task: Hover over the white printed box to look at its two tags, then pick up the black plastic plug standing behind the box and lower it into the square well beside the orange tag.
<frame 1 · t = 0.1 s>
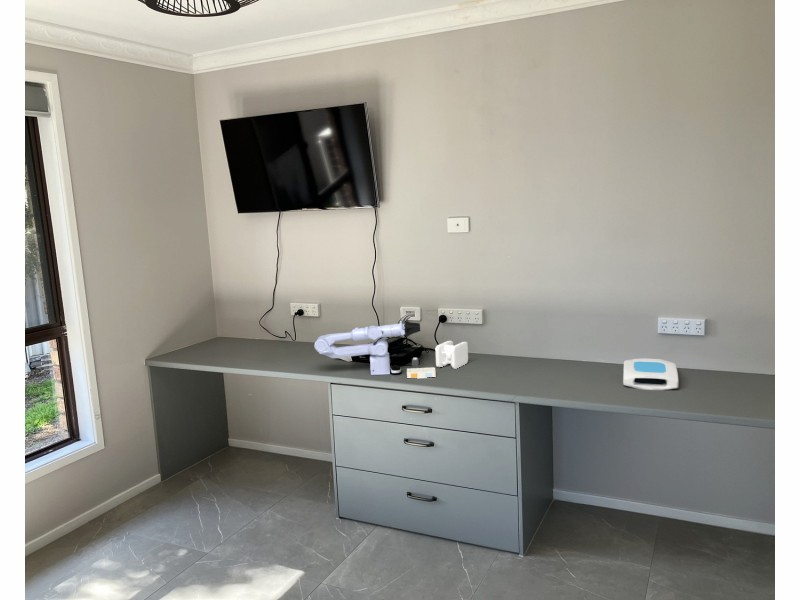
hand: (420, 327, 300), 22 cm above the table, tool horizontal, fingers open, 7 cm apart
cable organizer: (452, 366, 309), on the table
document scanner: (649, 380, 272), on the table
plug: (415, 371, 304), on the table
white printed box: (421, 376, 295), on the table
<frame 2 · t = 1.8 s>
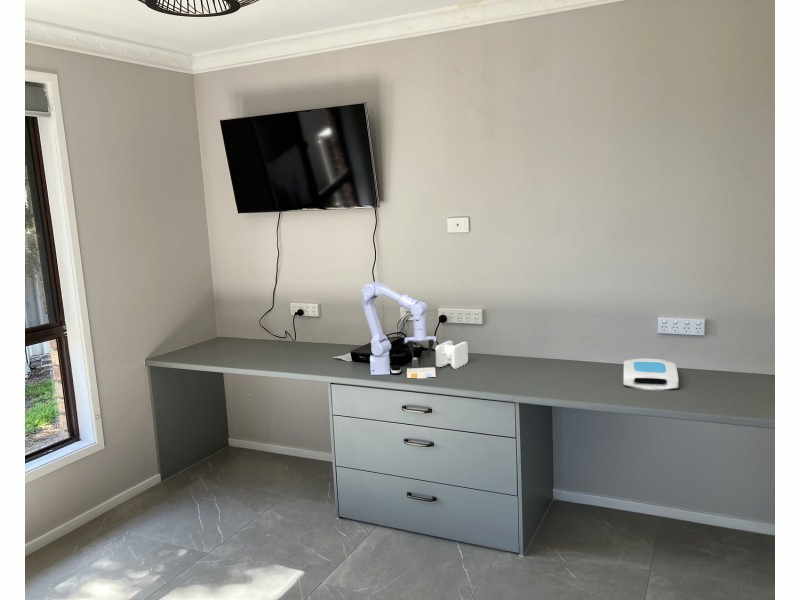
hand: (421, 356, 293), 9 cm above the table, tool pointing down, fingers open, 7 cm apart
nothing on the table moved.
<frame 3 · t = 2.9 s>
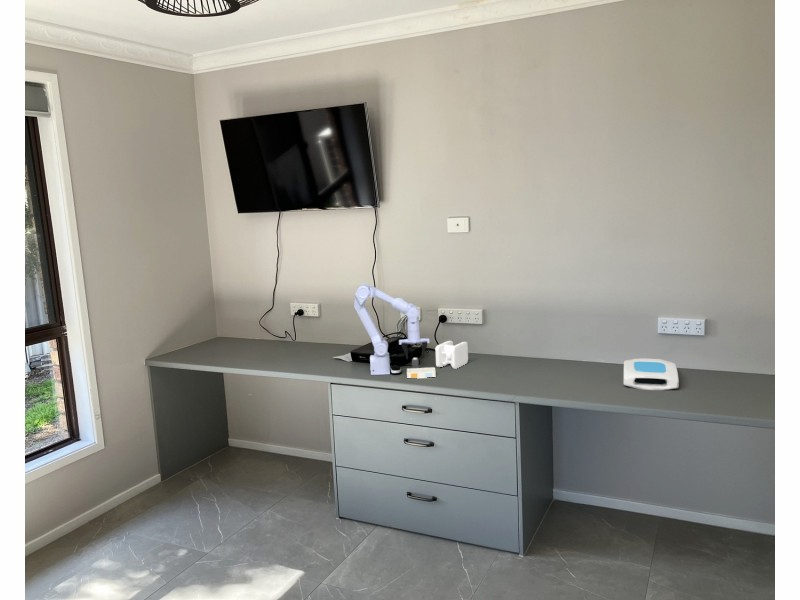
hand: (415, 358, 303), 6 cm above the table, tool pointing down, fingers open, 7 cm apart
nothing on the table moved.
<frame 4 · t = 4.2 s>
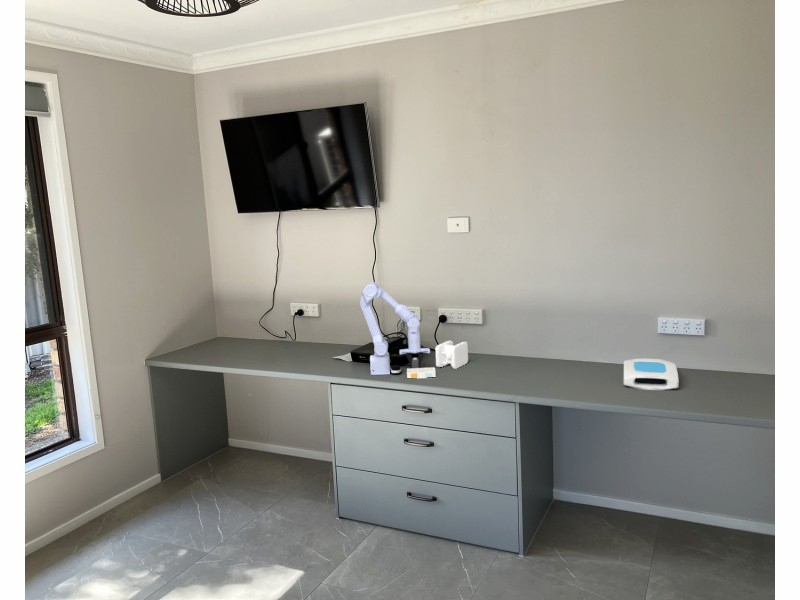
hand: (415, 367, 304), 2 cm above the table, tool pointing down, fingers closed on plug, 3 cm apart
plug: (415, 371, 304), on the table, touching gripper
everything else where it was.
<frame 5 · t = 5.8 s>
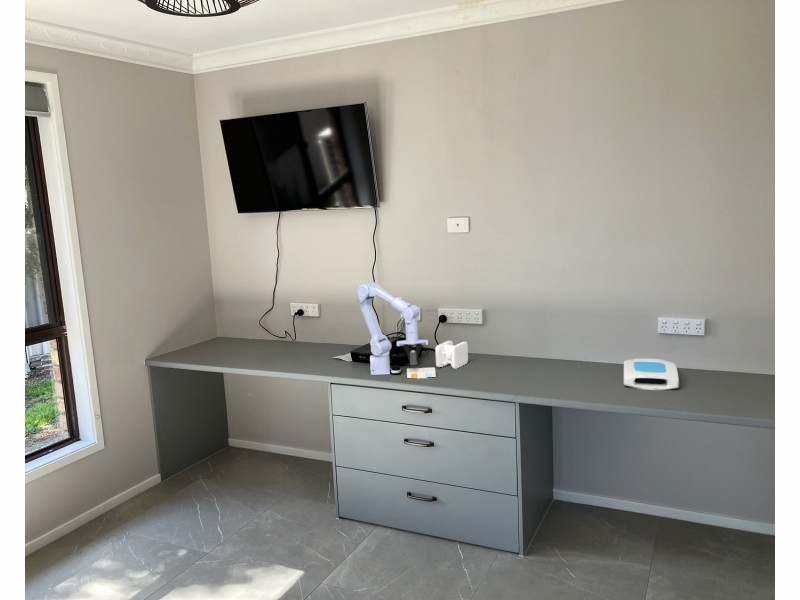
hand: (413, 360, 294), 8 cm above the table, tool pointing down, fingers closed on plug, 3 cm apart
plug: (413, 364, 295), point 6 cm above the table, touching gripper
everything else where it was.
when the fingers open (4 cm above the table, at t = 7.4 s): plug drops 2 cm, resting in white printed box.
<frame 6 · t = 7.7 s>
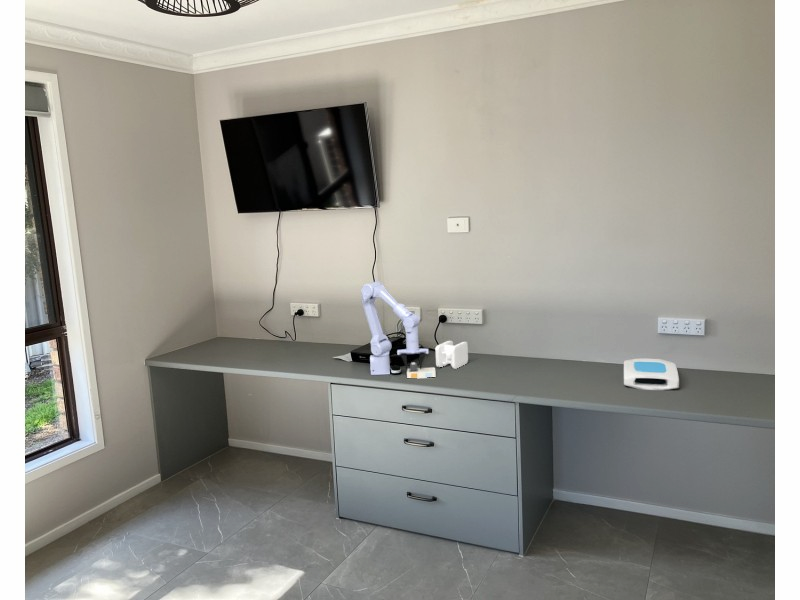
hand: (413, 368, 294), 4 cm above the table, tool pointing down, fingers open, 6 cm apart
plug: (414, 376, 295), resting in white printed box
everything else where it was.
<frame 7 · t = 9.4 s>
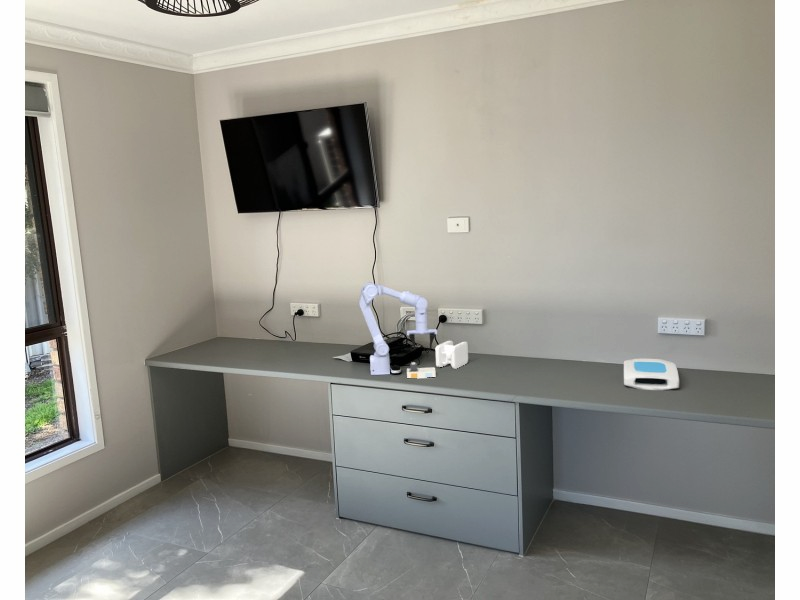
hand: (422, 348, 306), 10 cm above the table, tool pointing down, fingers open, 7 cm apart
nothing on the table moved.
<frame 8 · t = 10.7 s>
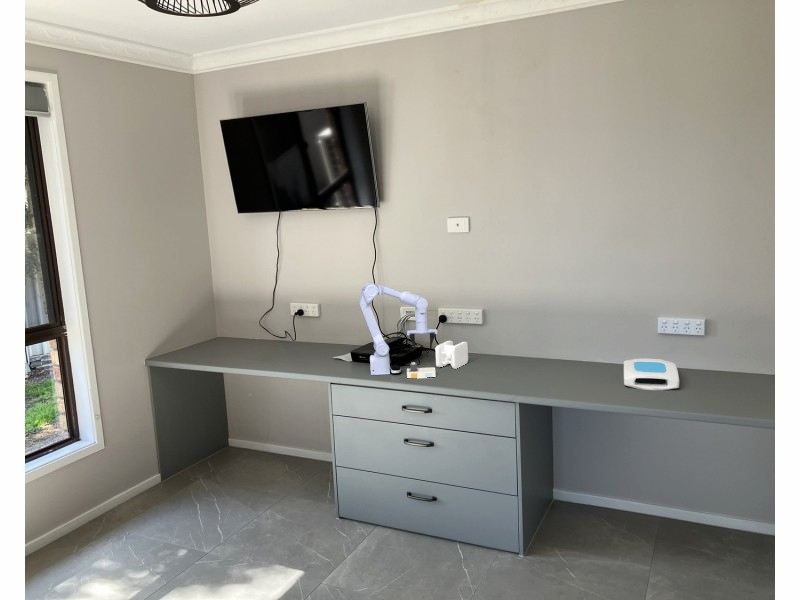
hand: (422, 348, 306), 10 cm above the table, tool pointing down, fingers open, 7 cm apart
nothing on the table moved.
at the end: plug 0.3 cm from the target spot on the white printed box, point 0.0 cm above the white printed box's base; plug tilted 0°; the gripper is holding nothing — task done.
